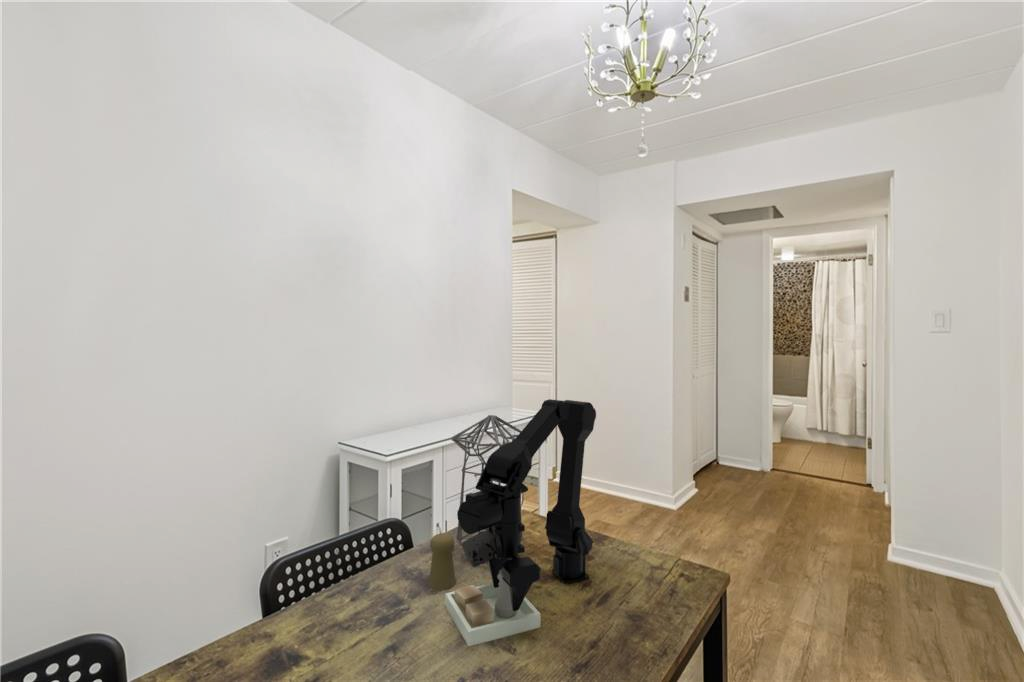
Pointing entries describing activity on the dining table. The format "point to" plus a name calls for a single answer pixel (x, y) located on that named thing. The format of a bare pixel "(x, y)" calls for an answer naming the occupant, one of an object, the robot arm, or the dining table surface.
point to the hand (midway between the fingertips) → (505, 598)
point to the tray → (501, 627)
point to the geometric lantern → (456, 439)
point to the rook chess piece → (503, 599)
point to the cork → (442, 562)
